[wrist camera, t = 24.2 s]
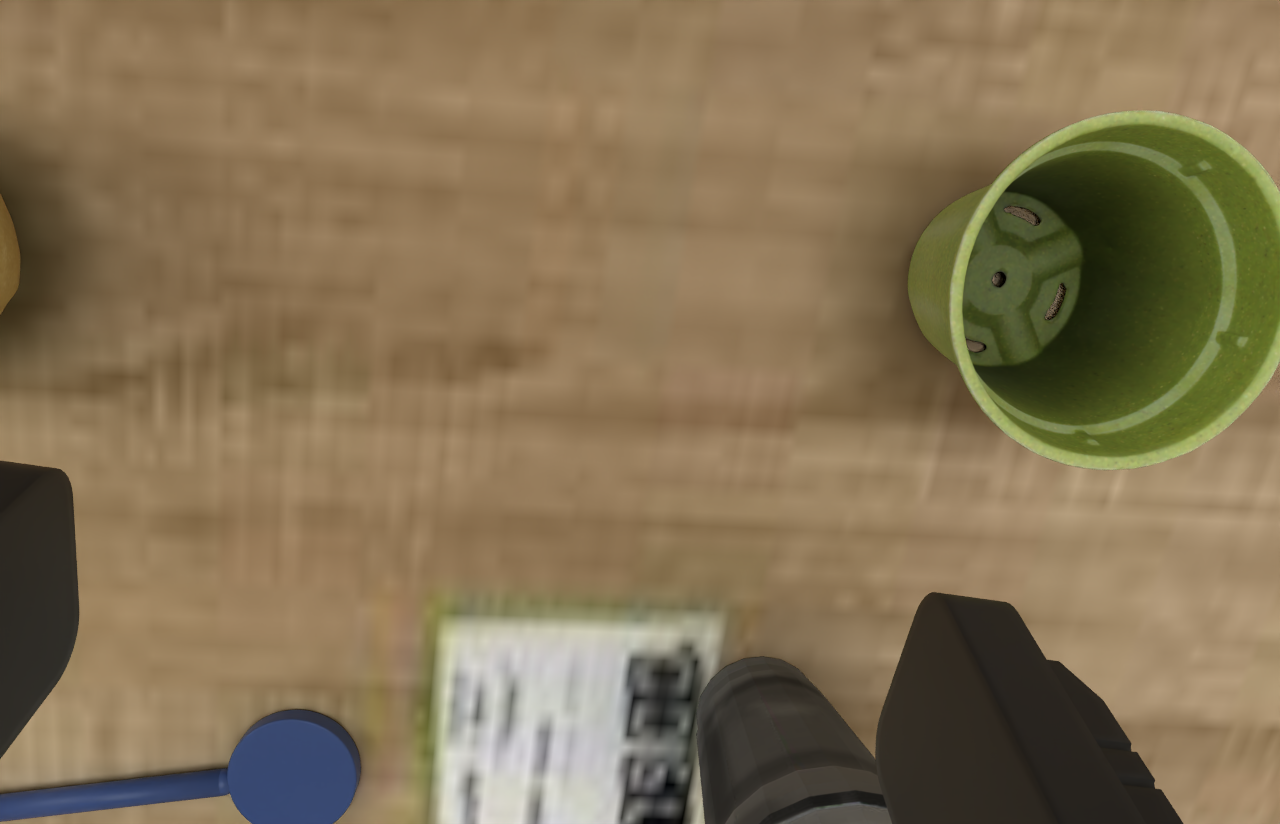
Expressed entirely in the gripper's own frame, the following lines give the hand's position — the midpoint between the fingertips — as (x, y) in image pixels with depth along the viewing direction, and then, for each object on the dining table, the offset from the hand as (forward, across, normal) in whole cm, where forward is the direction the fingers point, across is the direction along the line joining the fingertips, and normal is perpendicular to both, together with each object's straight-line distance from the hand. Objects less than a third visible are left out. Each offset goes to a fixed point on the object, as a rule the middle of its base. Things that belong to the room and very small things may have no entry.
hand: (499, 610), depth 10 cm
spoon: (+20, +11, +23) cm, 32 cm away
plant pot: (+26, -15, +2) cm, 30 cm away
